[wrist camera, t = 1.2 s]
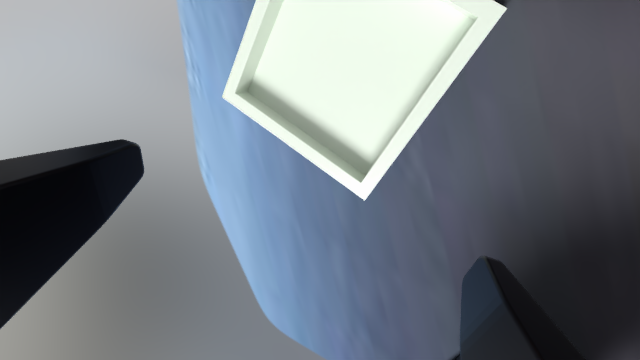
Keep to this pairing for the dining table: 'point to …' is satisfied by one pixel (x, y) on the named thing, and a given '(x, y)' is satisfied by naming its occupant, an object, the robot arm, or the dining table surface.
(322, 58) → the tray
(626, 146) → the dining table surface
